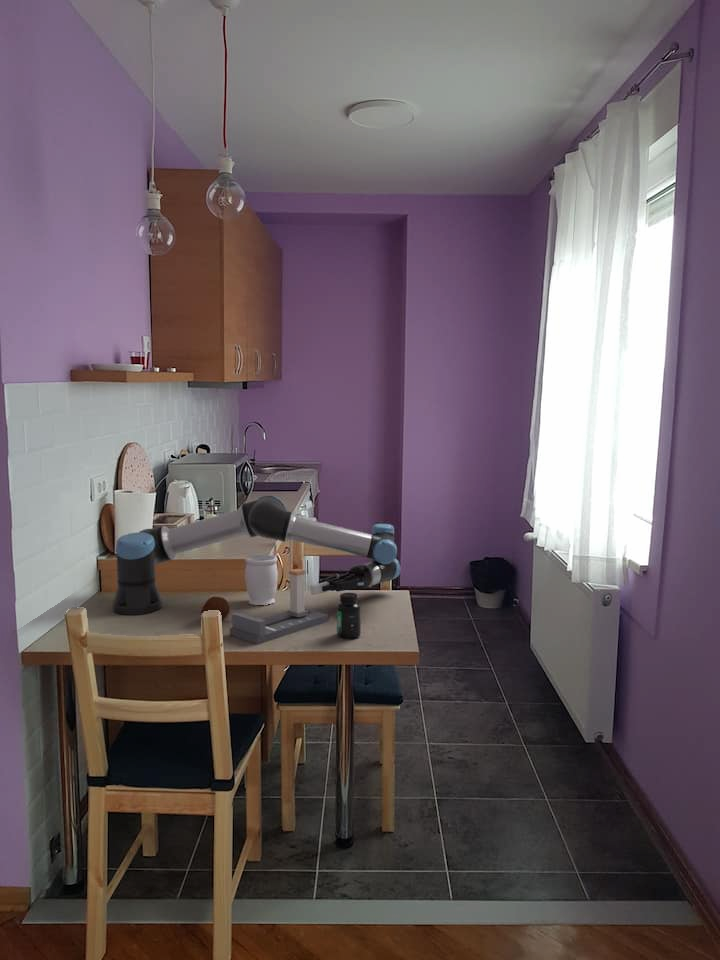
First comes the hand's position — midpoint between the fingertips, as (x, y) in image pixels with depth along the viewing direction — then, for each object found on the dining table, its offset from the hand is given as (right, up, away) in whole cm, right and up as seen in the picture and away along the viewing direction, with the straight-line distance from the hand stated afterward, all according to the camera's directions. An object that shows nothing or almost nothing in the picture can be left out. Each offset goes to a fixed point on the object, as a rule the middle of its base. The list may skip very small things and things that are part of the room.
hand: (312, 590), depth 239 cm
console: (-9, -10, -9) cm, 16 cm away
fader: (-4, -7, -4) cm, 9 cm away
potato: (-29, -9, -3) cm, 30 cm away
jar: (-18, -7, +18) cm, 26 cm away
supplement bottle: (+11, -11, -16) cm, 22 cm away
